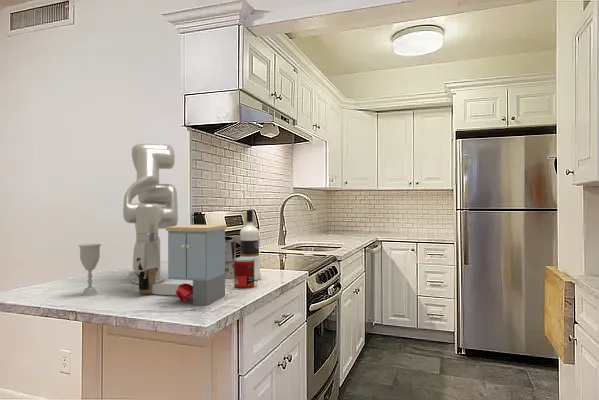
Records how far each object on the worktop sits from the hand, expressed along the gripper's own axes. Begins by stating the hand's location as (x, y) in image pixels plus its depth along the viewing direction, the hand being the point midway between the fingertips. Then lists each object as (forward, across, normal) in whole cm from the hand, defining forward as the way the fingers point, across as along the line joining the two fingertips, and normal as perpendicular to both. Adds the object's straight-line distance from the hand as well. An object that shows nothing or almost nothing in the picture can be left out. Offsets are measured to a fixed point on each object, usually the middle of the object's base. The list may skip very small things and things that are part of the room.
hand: (147, 287), depth 145 cm
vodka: (+2, -34, +27) cm, 43 cm away
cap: (+3, +6, +19) cm, 20 cm away
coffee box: (+2, -38, +15) cm, 41 cm away
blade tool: (+2, 0, +6) cm, 6 cm away
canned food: (+2, -20, +30) cm, 36 cm away
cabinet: (+2, +3, +22) cm, 22 cm away
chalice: (+2, +5, -20) cm, 21 cm away
